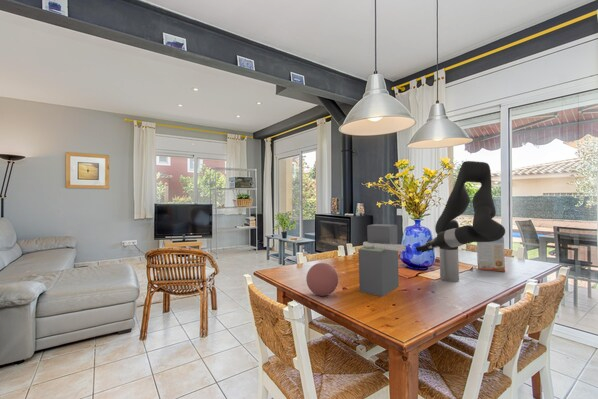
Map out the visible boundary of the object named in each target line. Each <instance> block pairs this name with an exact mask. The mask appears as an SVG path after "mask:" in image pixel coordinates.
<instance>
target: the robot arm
mask: <svg viewBox="0 0 598 399" xmlns="http://www.w3.org/2000/svg"><path fill="white" fill-rule="evenodd" d="M466 183H475V184H476V183H478V184H480V187H479V189H478V190H477V191H476V192H475V194H474V196H473V198H472V206H473V207H472V208H473V212H474V214H473V219H472V225H471V224H465V225H461V226H459V222H458V220H456V218H458V217H459V216H461V215H463V214H464V213H465V212H466V210H467V208H468V207H469V205H470V202H471V197H470V194H469V193H468V190H467V189H466V186H465V184H466ZM492 189H493V187H492V172H491V167H490V164H489V163H488V162H484V161H477V160H476V161H474V160H473V161H472V160H466V161H464V162H462V163H461V166H460V167H459V170H458V173H457V177H456V179H455V183H454V185H453V188H452V190H451V192H450V194H449V196H448V199H447V200H446V203H445V206H444V208H443V211H442V213H441V215H440V216H439V217H438V220H437V221H436V223H435V226H434V227H435V228H434V229H435V233H436V237H434V238H432V239H429V240H426V242H425V243H424V244H422V245H420V246H416V247H415V250H416V252H417V253H419V252H421V253H425V252H429V251H433V250H434V249H438V248H439V250H438V252H439V279H440V280H441V281H445V282H453V283H454V282H460V268H459V266H460V265H459V262H460V260H459V247H461V246H463V245H467V244H471V243H477V242H493V241H497V240H499V239H501V238H502V237H504V236H505V235H506V229H505V227H504V226H503V224H501V223H499V222H498V221H496V220H495V219H493V218H495V217H496V215H497V211H496V207H495V203H494V199H493V194H492V193H493V192H492V191H493V190H492Z"/></svg>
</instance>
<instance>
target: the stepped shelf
mask: <svg viewBox="0 0 598 399" xmlns="http://www.w3.org/2000/svg"><path fill="white" fill-rule="evenodd" d="M366 230H367V231H366V232H367V234H366V235H367V242H376V243H387V244H398V243H399V242H398V241H399V240H398V225H397V224H390V223H388V224H385V223H381V224H380V223H374V224H368V225H366ZM357 251H358V279H359V280H358V282H359V285H358V286H359V292H360V293H363V292H364V294H368V295H373V296H377V297H382V298H383V297H385V296H386V295H388V294H389V293H391V292H393V291H394V290H395V289H396V288H398V287H399V286H400V282H399V279H400V277H399V251H396V250H386V249H376V248H373V249H368V248H363V246H362V247H360V248H359V249H358V250H357Z"/></svg>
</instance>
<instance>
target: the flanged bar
mask: <svg viewBox="0 0 598 399" xmlns="http://www.w3.org/2000/svg"><path fill="white" fill-rule="evenodd" d="M362 247H363V248H368V249H373V248H376V249H386V250H396V251H398V252H405V251H407V248H406V247H407V245H406V244H387V243H376V242H368V241H363V243H362Z"/></svg>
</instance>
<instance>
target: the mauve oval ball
mask: <svg viewBox="0 0 598 399" xmlns="http://www.w3.org/2000/svg"><path fill="white" fill-rule="evenodd" d="M305 280H306V284H307V287H308V289H309V290H310V291H311V292H312V293H313V294H314V295H316V296H321V297H326V296H328V295H331V294H332V293H334V291H335V290H337V287H338V284H339V275H338V272H337V271H336V269H335V268H334V267H333V266H332V265H330V264H329V263H325V262H318V263H314V264H313V265H312V266H311V267H310V268H309V269H308V271H307V273H306V279H305Z"/></svg>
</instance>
